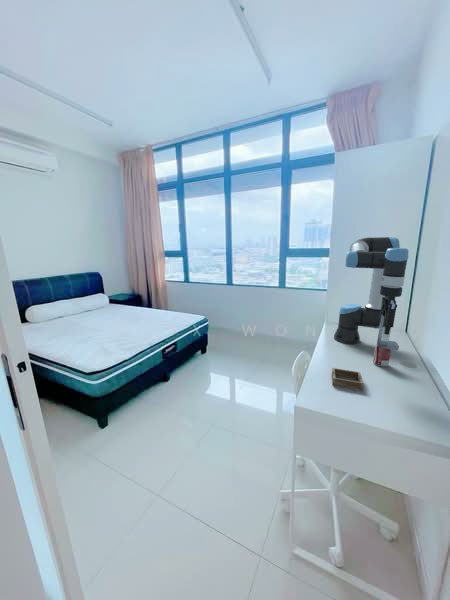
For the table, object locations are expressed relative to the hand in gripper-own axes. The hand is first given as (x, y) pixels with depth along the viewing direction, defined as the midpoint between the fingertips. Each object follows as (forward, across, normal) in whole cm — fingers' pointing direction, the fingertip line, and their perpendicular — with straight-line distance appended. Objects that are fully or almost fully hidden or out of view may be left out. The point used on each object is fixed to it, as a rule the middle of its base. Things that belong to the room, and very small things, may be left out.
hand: (383, 338), depth 107 cm
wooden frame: (+21, +6, -13) cm, 26 cm away
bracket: (+4, 0, +2) cm, 4 cm away
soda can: (+22, -19, +5) cm, 29 cm away
